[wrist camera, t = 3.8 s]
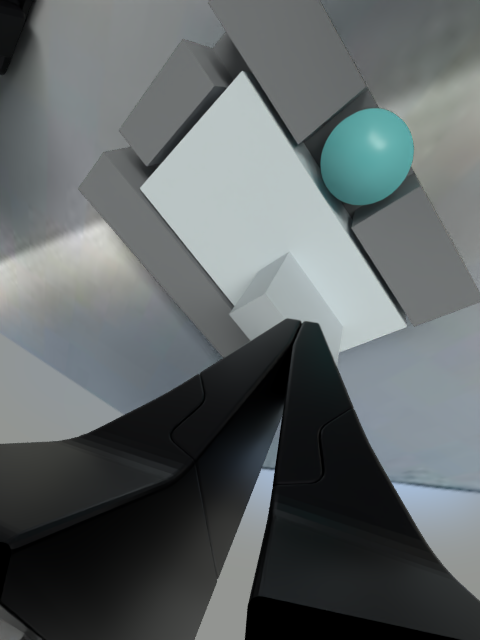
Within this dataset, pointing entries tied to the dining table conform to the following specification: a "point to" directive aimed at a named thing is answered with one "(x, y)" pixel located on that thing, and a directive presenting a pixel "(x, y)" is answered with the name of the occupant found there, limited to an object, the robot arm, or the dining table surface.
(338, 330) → the white stepped block
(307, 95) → the filter housing
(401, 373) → the dining table surface
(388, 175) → the teal egg-shaped capsule
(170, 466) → the robot arm
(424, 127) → the dining table surface
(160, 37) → the dining table surface
